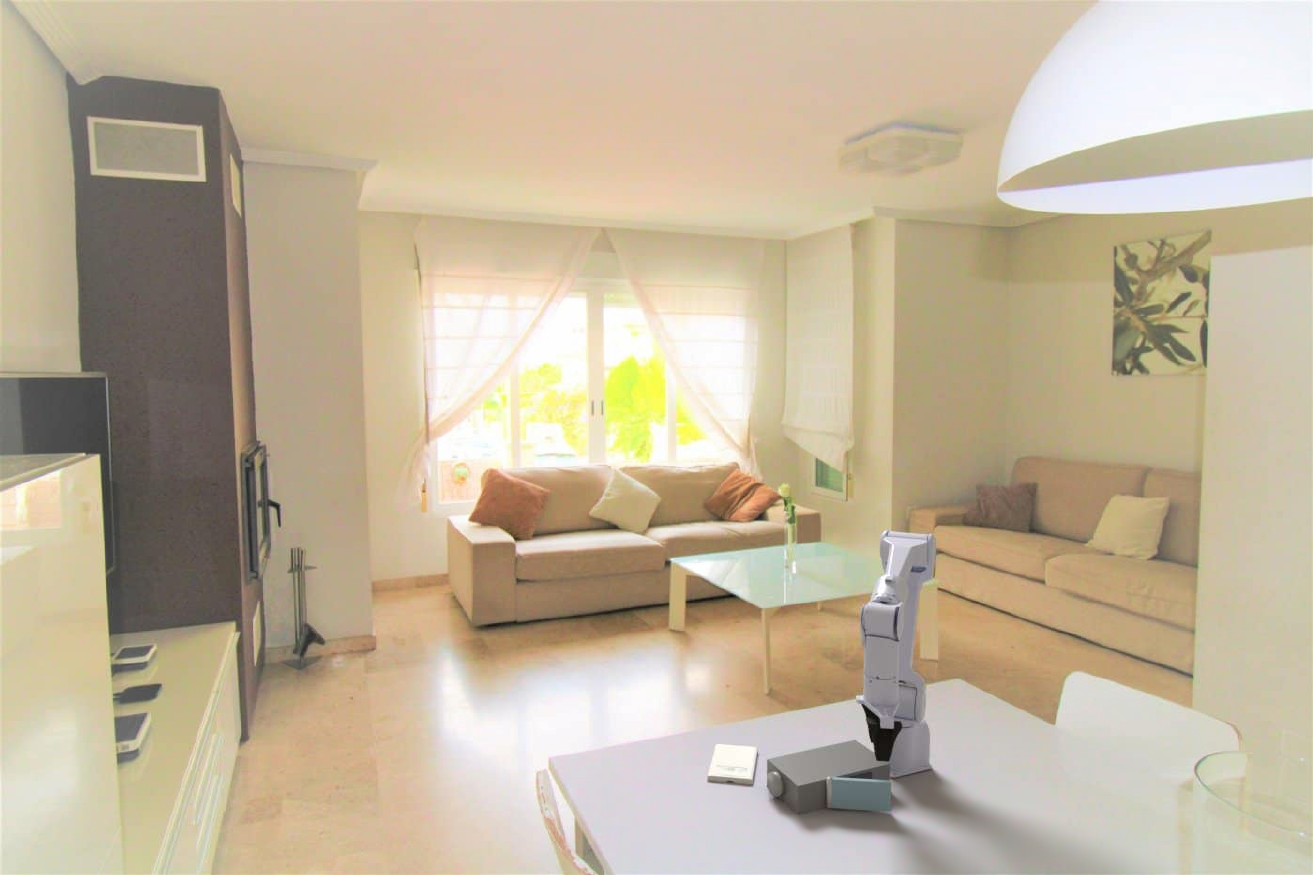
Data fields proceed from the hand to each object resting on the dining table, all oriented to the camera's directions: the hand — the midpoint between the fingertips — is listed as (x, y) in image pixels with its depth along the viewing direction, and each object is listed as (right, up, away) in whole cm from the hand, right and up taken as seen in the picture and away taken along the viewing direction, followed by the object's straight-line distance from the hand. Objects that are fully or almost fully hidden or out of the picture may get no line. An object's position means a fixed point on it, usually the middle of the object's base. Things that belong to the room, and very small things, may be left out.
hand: (879, 751), depth 135 cm
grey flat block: (-8, -9, +6) cm, 13 cm away
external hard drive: (-24, -9, +14) cm, 29 cm away
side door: (-4, -9, -1) cm, 10 cm away
